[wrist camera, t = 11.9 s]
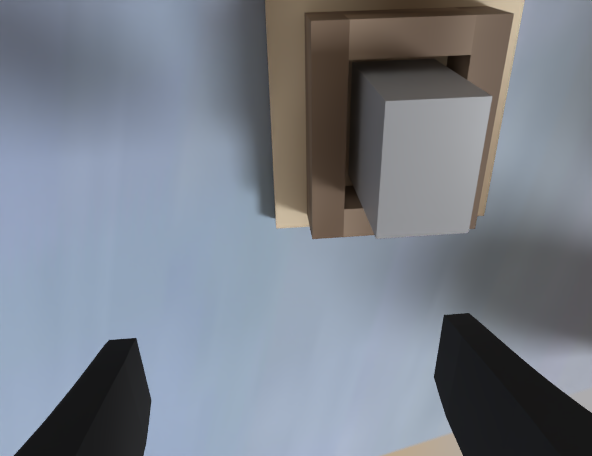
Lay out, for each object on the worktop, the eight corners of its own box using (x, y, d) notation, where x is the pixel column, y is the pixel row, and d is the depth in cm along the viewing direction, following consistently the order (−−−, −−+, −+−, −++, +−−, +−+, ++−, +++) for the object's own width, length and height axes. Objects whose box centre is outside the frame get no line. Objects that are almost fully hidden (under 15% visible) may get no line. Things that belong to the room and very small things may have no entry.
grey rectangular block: (348, 174, 20) (376, 238, 16) (352, 61, 18) (385, 101, 14) (421, 170, 20) (468, 232, 16) (434, 58, 18) (492, 95, 14)
